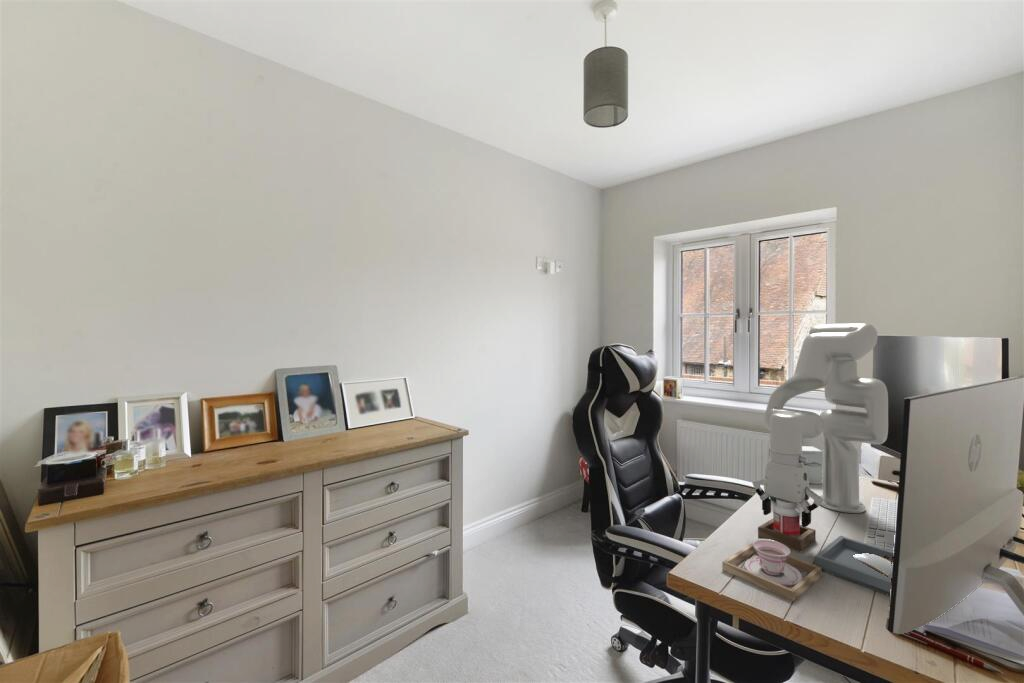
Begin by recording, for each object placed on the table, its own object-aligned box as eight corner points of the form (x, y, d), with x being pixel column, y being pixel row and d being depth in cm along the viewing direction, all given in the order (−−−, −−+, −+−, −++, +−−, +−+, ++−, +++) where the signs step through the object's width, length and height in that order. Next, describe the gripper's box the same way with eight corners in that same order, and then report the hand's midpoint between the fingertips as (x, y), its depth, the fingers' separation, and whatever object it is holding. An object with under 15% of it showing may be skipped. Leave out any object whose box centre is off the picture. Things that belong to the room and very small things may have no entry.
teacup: (735, 559, 111) (734, 535, 111) (782, 559, 110) (782, 535, 110) (760, 587, 99) (760, 560, 99) (814, 586, 98) (814, 560, 98)
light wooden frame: (753, 549, 115) (753, 542, 115) (821, 576, 102) (821, 567, 102) (722, 569, 106) (722, 561, 106) (793, 601, 93) (793, 592, 93)
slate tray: (840, 546, 116) (840, 535, 116) (927, 574, 102) (927, 562, 102) (815, 568, 106) (814, 555, 106) (907, 602, 92) (907, 588, 92)
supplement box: (801, 483, 162) (801, 450, 162) (792, 477, 170) (792, 445, 169) (823, 484, 161) (823, 450, 161) (813, 478, 168) (812, 445, 168)
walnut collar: (774, 527, 128) (774, 517, 128) (815, 540, 119) (815, 529, 119) (758, 537, 122) (757, 527, 121) (799, 552, 113) (799, 541, 113)
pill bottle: (804, 540, 119) (803, 500, 119) (793, 546, 116) (793, 506, 116) (780, 532, 125) (779, 494, 124) (769, 538, 121) (768, 498, 121)
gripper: (827, 463, 115) (827, 527, 115) (759, 449, 129) (759, 506, 129) (816, 468, 111) (816, 534, 111) (747, 453, 125) (747, 512, 125)
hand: (785, 519), depth 120 cm, fingers open, 9 cm apart
